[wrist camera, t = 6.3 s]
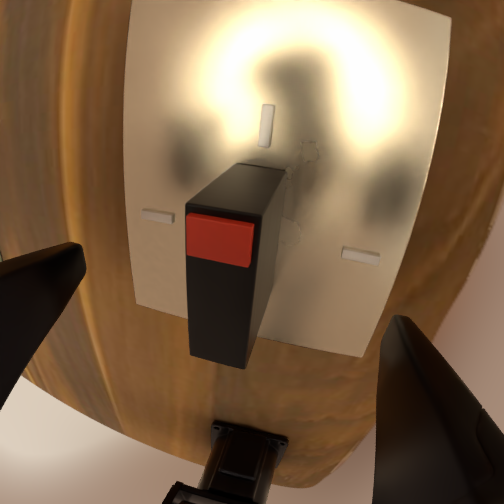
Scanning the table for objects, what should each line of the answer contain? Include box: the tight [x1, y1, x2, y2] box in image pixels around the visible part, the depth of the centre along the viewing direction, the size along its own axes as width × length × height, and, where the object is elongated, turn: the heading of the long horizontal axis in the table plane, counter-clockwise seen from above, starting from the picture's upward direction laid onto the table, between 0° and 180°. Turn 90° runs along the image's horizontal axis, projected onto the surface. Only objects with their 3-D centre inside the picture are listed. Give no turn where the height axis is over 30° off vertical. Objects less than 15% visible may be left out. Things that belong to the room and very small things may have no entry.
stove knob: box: [185, 164, 287, 369], centre depth 10 cm, size 5×2×4 cm, turn 175°
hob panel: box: [123, 0, 452, 357], centre depth 12 cm, size 14×11×3 cm
